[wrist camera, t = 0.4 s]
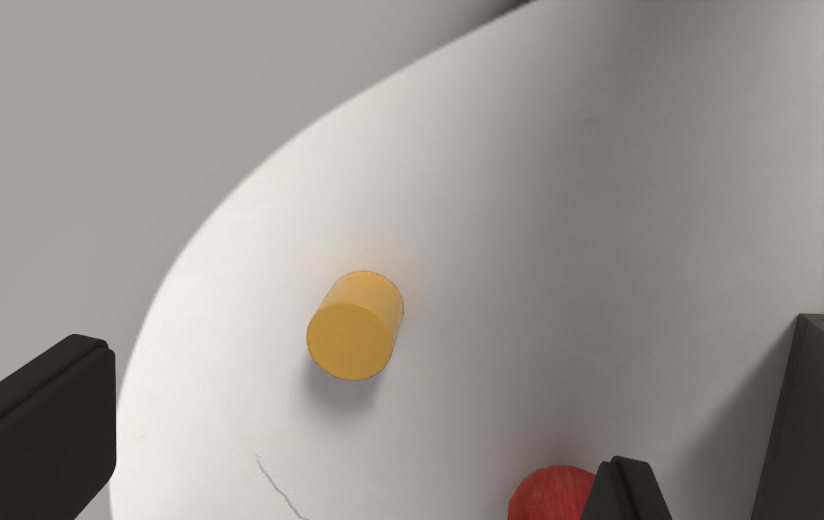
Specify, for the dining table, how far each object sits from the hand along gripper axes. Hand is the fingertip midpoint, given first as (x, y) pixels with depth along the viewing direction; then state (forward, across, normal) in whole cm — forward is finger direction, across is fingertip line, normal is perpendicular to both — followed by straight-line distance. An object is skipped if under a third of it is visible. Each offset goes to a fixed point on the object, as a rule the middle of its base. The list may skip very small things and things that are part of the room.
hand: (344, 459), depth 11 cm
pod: (+18, +2, +6) cm, 19 cm away
